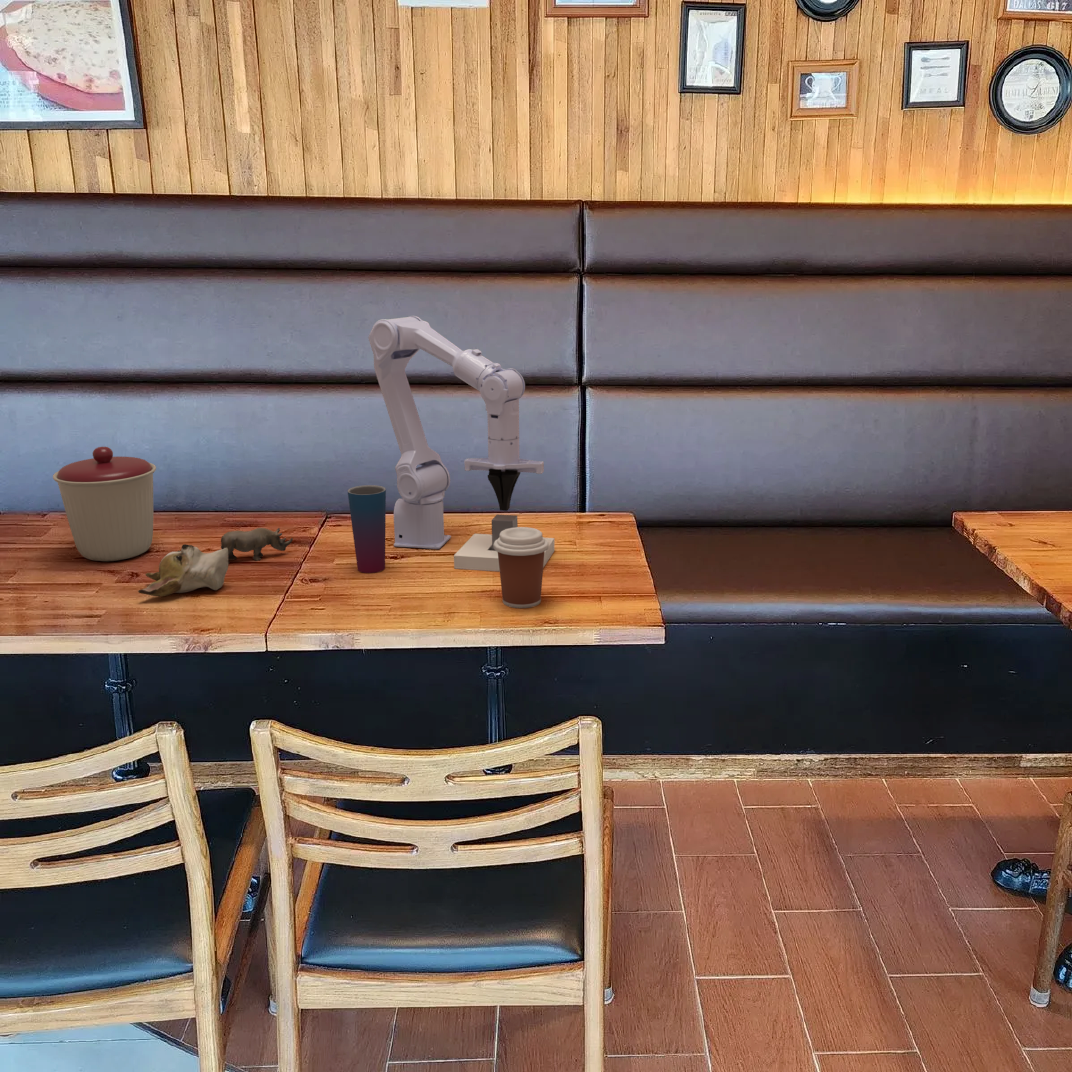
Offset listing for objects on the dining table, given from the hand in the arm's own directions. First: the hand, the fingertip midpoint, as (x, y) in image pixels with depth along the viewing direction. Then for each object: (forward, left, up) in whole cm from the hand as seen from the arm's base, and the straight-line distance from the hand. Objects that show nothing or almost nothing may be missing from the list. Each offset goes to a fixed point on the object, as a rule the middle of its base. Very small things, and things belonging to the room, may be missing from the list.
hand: (504, 509), depth 187 cm
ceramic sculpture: (-50, -27, -10) cm, 58 cm away
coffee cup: (+8, -21, -10) cm, 25 cm away
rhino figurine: (-47, -8, -10) cm, 48 cm away
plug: (0, 0, -10) cm, 10 cm away
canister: (-75, -11, -10) cm, 76 cm away
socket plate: (0, 0, -10) cm, 10 cm away
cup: (-23, -10, -10) cm, 27 cm away
